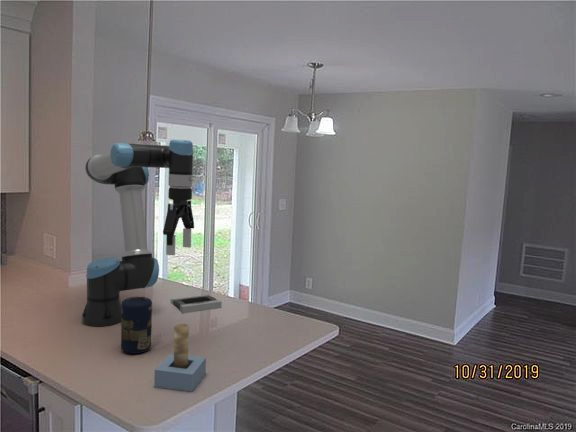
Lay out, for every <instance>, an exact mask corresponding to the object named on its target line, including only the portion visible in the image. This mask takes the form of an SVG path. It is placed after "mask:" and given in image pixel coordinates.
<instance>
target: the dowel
mask: <svg viewBox="0 0 576 432" xmlns="http://www.w3.org/2000/svg"><path fill="white" fill-rule="evenodd" d="M173 328H174V331H173V354H174V367H175V368H184V369H187V368H188V356H189V335H190V334H189V328H190V327H189V325H188V324H186V323H179V324H175V325H174V326H173Z"/></svg>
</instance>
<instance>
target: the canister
mask: <svg viewBox="0 0 576 432" xmlns="http://www.w3.org/2000/svg"><path fill="white" fill-rule="evenodd" d="M152 304H153V302H152V299H150V298H148V297H146V296H131V297H127V298H125V299H123V300H122V302H121V322H120V326H121V329H120V330H121V332H120V347H121V351H123V352H125V353H127V354H141V353H144V352H147V351H148V350H150V348H151V347H152V314H153V312H152V310H153V308H152V307H153V305H152Z"/></svg>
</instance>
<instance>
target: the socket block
mask: <svg viewBox="0 0 576 432" xmlns="http://www.w3.org/2000/svg"><path fill="white" fill-rule="evenodd" d="M206 365H207V357H203V356H194V355H188V368H187V369H184V368H175V367H174V353H170V354H169V355H168V356H166V358H165V359H163V361H162V362H161V363H160V364H159V365H157V367H156V368H155V369H154V378H153V379H154V384H153V385H154V388H161V389H169V390H176V391H184V392H191V393H192V392H193V391H194V390H195V389H196V387H197V386H198V384H199V383H200V382H201V381H202V379H203V378H204V376H205V375H206V373H207V372H206V371H207V369H206V367H207V366H206Z"/></svg>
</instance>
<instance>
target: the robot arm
mask: <svg viewBox="0 0 576 432" xmlns="http://www.w3.org/2000/svg"><path fill="white" fill-rule="evenodd" d="M193 147H194V144H193V142H192V141H191V140H188V139H187V140H184V139H170V140H169V143H168V145H167V144H166V145H164V144H163V145H162V144H161V145H159V144H142V143H127V142H116V143H115V142H114V143H113V145H112V146H111V148H110V151H109V152H107V153H105V154H95V155H93V156H91V157H89V159H88V160H87V161H86V163H85V173H86V175H87V177H88V178H90V180H92V181H94V182H95V183H98V184H102V185H114V190H115V192H117V193H118V194H119V201H120V211H121V212H120V213H121V222H122V223H121V225H122V232H123V233H122V234H123V243H124V251H125V252H124V253H123V255H122V256H121V260H120V259H119V258H118V257H103V258H99V259H96V260H93V261H91V262H89V263H88V265H87V267H86V274H85V276H86V302H85V306H84V309H83V312H82V314H81V323H82V324H83V325H86V326H90V327H108V326H112V325H116V324H119V323H121V305H122V302H121V299H120V298H121V297H120V292H123V291H124V292H125V291H130V290H132V291H133V290H138V289H139V290H140V289H146V288H149V287H153V286H155V284H156V283H157V281H158V279H159V275H160V265H159V261H158V259H157V258H155V257H153V252H151V251H150V250H149V249H148V241H147V231H146V222H145V215H144V214H145V213H144V202H143V194H142V193H143V190H145V189H146V185H147V184H148V183H149V181H150V178H149V177H150V171H149V168H153V169H154V168H156V169H157V168H161V169H163V168H165V169H168V187H169V188H168V194H167V195H168V199H169V200H172V203H170V202H169V203H168V205H167V211H166V216H165V220H164V221H165V222H164V226H163V230H162V234H163V235H164V236H166V241H165V242H166V243H165V244H166V248H165V249H166V250H165V255H166V256H176V234H175V233H176V229H177V227H178V223H179V221H180V219H181V221H182V224H183V227H184V228H183V229H182V248H189V249H190V248H191V247H192V229H194V228H195V222H194V221H195V220H194V215H193V209H192V198H193V189H192V188H191V187H193V181H194V177H193V168H194V167H193V164H194V163H193V162H194V161H193V160H194V151H193V149H194V148H193Z"/></svg>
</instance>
